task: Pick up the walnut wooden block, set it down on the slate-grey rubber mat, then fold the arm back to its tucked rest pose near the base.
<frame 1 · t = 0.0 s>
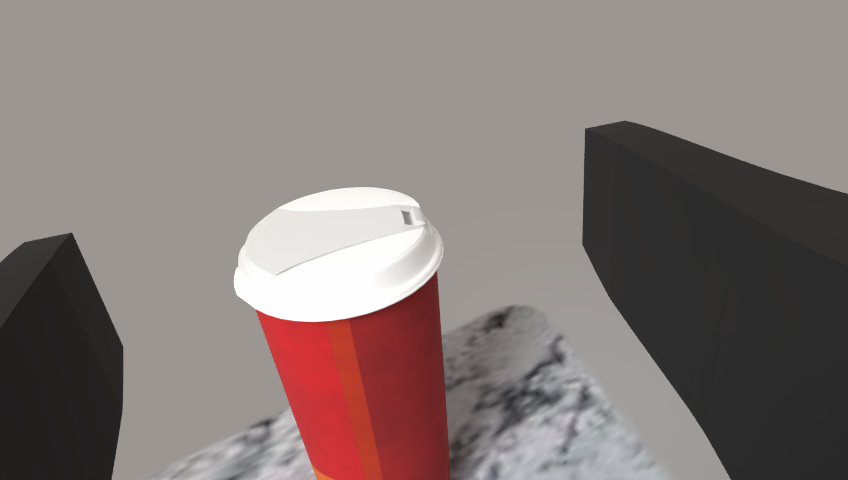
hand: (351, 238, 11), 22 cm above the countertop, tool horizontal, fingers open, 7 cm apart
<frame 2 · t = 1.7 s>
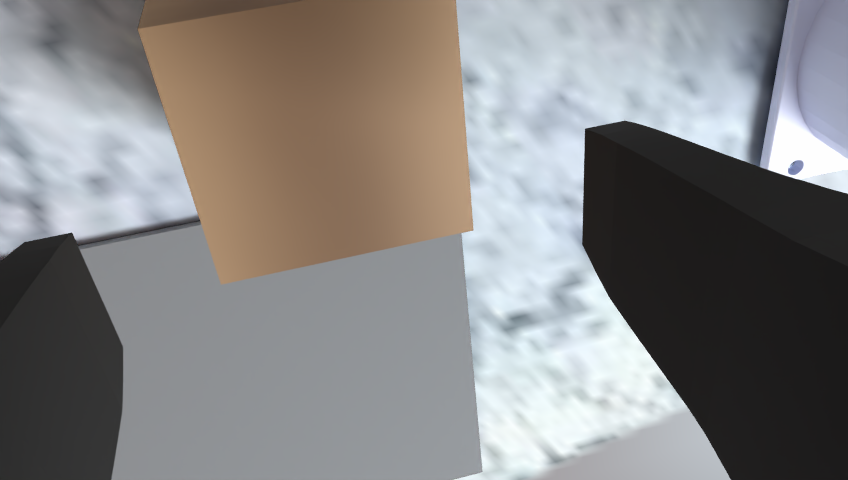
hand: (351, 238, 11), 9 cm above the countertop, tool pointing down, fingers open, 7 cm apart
slate mat: (272, 387, 24), on the countertop
walnut block: (297, 33, 18), on the countertop
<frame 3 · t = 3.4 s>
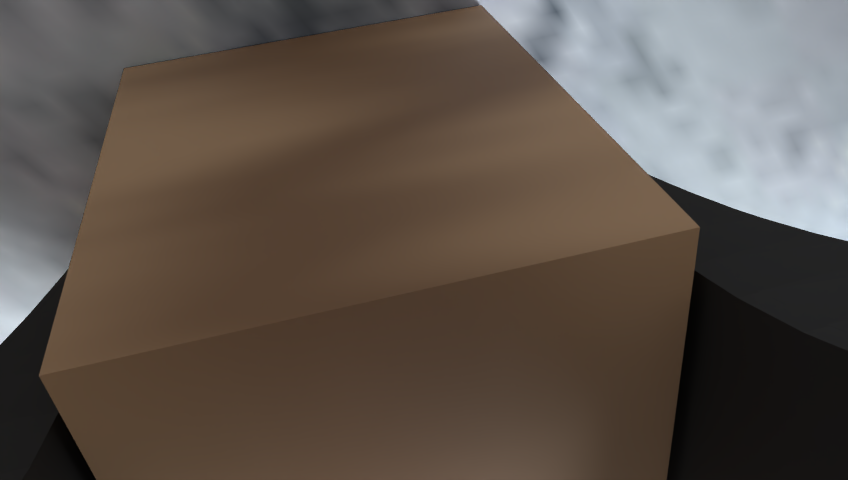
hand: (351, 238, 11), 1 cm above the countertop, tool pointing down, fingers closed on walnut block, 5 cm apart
walnut block: (337, 189, 12), on the countertop, touching gripper
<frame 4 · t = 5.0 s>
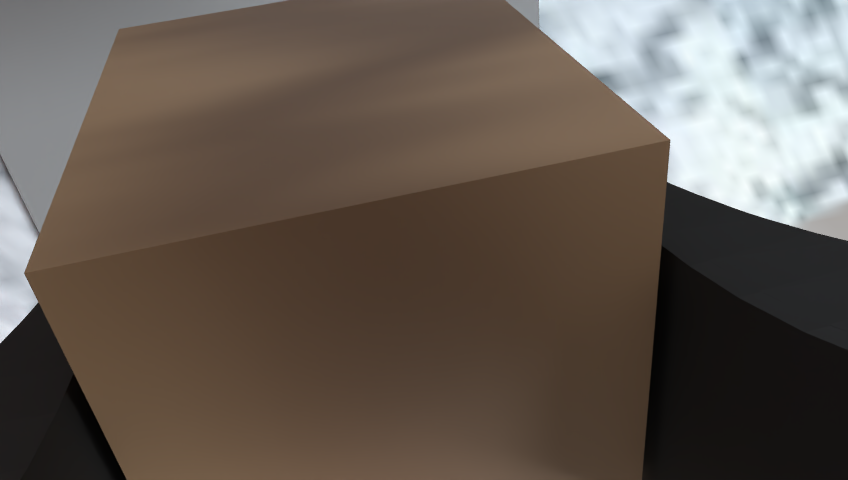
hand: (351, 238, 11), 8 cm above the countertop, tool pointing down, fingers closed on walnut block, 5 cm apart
slate mat: (296, 159, 19), on the countertop
walnut block: (329, 155, 12), point 7 cm above the countertop, touching gripper
when the fingers open (3 cm above the countertop, at t = 7.1 s): walnut block drops 1 cm, resting on slate mat.
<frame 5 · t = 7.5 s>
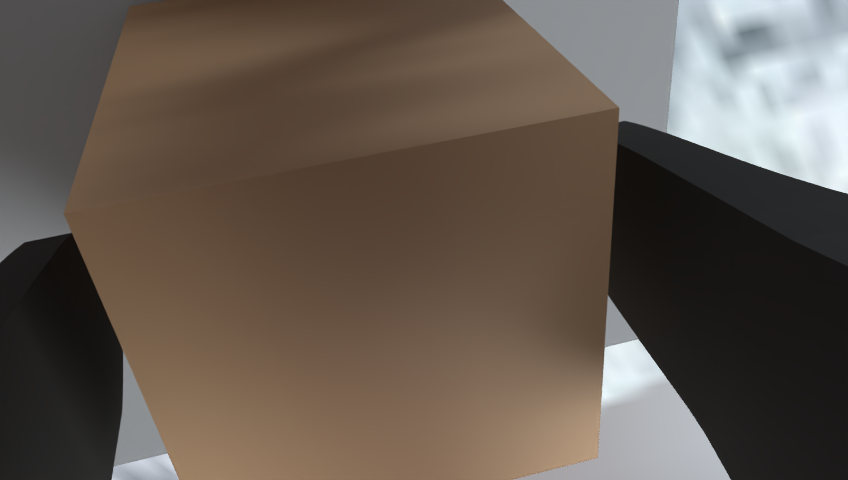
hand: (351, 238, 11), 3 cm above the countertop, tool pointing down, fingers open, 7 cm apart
slate mat: (324, 140, 13), on the countertop
walnut block: (323, 127, 13), resting on slate mat
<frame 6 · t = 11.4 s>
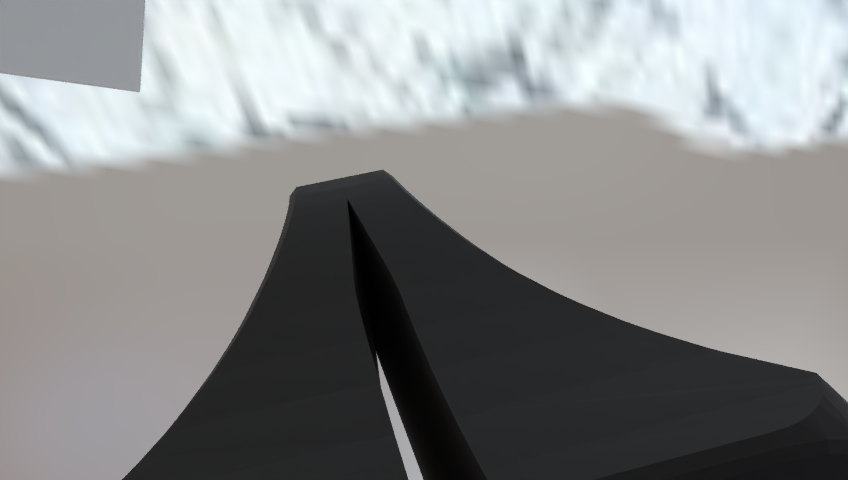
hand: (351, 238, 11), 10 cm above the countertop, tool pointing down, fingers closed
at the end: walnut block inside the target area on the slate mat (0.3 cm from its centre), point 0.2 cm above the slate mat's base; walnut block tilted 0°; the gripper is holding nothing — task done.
